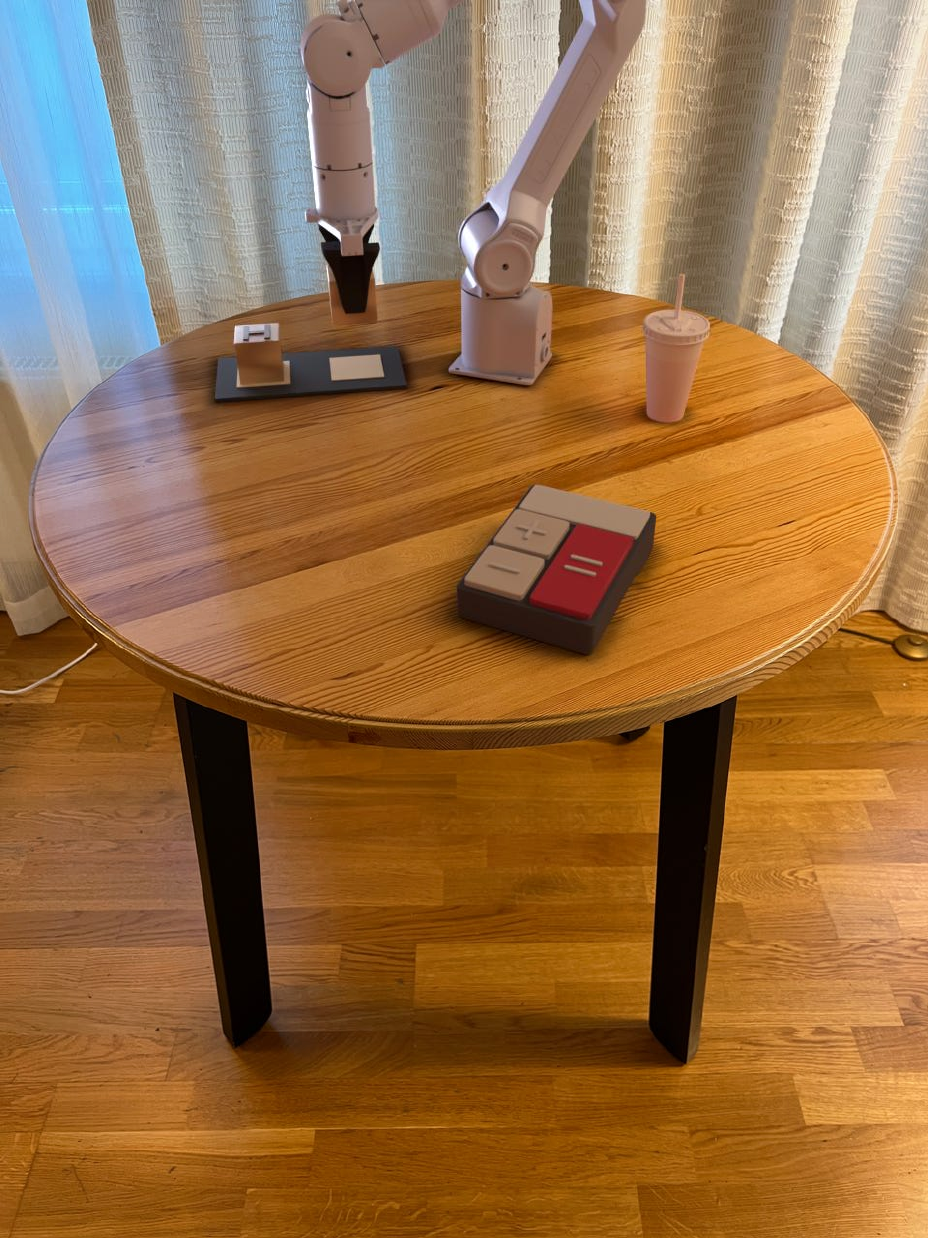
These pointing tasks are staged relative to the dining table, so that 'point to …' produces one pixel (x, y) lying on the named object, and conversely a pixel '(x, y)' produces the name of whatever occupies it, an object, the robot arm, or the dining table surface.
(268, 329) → the letter block h
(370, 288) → the letter block i
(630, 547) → the calculator
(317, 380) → the word mat
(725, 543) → the dining table surface
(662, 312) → the smoothie
